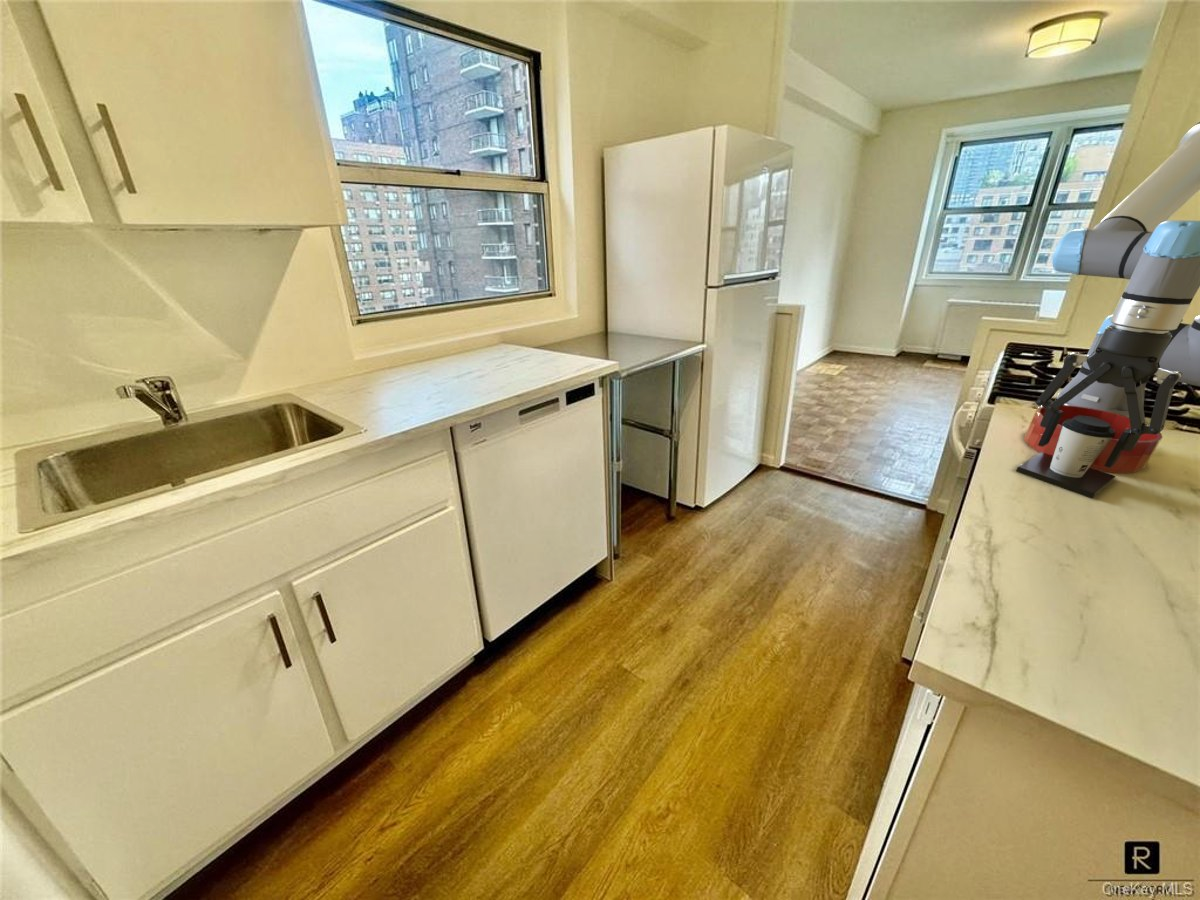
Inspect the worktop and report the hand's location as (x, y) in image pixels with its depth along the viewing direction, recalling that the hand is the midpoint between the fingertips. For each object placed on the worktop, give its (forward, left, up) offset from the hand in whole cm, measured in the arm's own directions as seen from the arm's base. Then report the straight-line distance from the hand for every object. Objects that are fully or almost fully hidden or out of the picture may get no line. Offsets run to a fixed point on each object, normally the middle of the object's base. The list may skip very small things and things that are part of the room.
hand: (1074, 454), depth 87 cm
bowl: (-16, -2, -4) cm, 17 cm away
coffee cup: (0, 0, -4) cm, 4 cm away
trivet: (0, 0, -4) cm, 4 cm away
